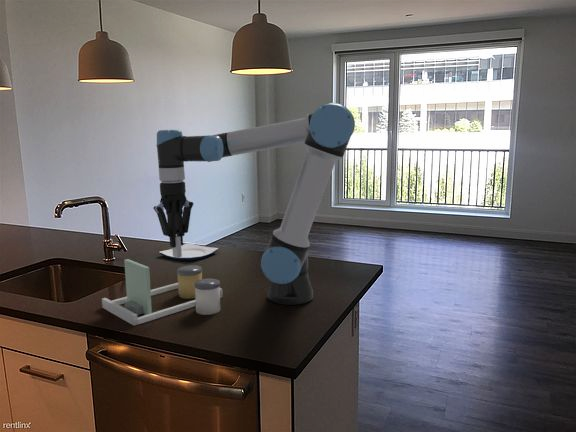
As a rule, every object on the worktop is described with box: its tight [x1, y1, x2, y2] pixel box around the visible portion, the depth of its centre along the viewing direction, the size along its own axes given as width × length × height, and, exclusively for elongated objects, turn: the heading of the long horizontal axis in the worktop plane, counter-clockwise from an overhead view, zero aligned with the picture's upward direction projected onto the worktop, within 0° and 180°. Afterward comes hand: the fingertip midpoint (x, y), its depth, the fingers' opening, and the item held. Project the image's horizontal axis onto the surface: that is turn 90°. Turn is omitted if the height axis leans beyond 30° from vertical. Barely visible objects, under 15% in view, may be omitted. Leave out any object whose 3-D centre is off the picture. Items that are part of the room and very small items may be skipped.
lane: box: [101, 282, 224, 326], centre depth 155 cm, size 20×32×3 cm, turn 136°
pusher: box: [123, 258, 153, 316], centre depth 147 cm, size 13×4×15 cm, turn 46°
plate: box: [158, 242, 220, 262], centre depth 212 cm, size 20×20×3 cm
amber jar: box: [176, 264, 203, 299], centre depth 162 cm, size 8×8×9 cm
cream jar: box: [194, 278, 221, 316], centre depth 148 cm, size 8×8×9 cm
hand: (177, 256), depth 150 cm, fingers closed
